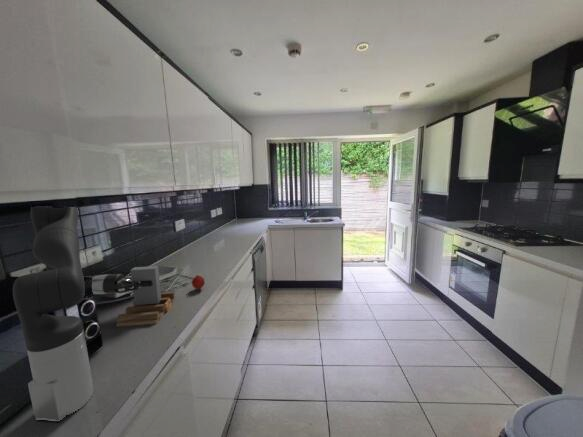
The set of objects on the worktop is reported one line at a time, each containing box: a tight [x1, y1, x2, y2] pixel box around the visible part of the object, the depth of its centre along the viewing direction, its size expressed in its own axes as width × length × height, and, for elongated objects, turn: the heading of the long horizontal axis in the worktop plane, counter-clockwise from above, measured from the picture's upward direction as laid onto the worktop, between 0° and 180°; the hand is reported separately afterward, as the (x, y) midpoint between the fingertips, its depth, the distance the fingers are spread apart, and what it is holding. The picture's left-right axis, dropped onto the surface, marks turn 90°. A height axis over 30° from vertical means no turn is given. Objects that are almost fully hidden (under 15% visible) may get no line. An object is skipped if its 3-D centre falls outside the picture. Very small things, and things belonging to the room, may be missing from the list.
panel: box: [130, 265, 162, 305], centre depth 94 cm, size 3×9×15 cm, turn 98°
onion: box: [191, 274, 205, 291], centre depth 114 cm, size 6×6×8 cm
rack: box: [115, 291, 177, 328], centre depth 95 cm, size 20×15×4 cm
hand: (153, 281), depth 94 cm, fingers closed on panel, 3 cm apart
